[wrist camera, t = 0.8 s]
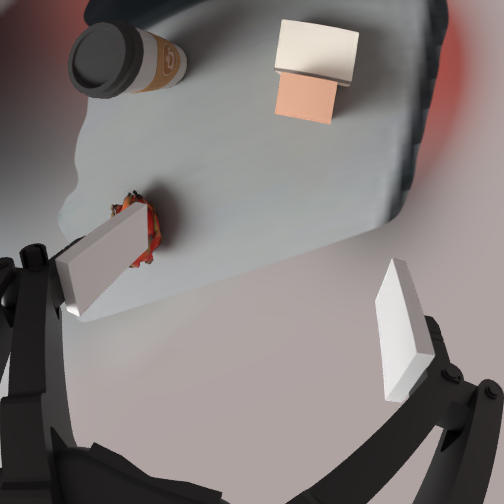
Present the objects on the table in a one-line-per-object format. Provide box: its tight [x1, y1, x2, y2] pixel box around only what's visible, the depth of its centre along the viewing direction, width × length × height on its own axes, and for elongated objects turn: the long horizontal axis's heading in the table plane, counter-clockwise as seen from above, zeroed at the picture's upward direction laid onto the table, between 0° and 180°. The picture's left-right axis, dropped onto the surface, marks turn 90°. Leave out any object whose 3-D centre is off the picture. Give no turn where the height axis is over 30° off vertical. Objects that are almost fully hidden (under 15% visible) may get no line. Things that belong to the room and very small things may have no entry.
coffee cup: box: [68, 20, 187, 99], centre depth 29 cm, size 8×8×15 cm
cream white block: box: [274, 20, 359, 87], centre depth 29 cm, size 6×8×5 cm
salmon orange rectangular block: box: [275, 72, 338, 124], centre depth 30 cm, size 4×5×10 cm
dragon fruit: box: [111, 190, 162, 268], centre depth 44 cm, size 8×8×12 cm
